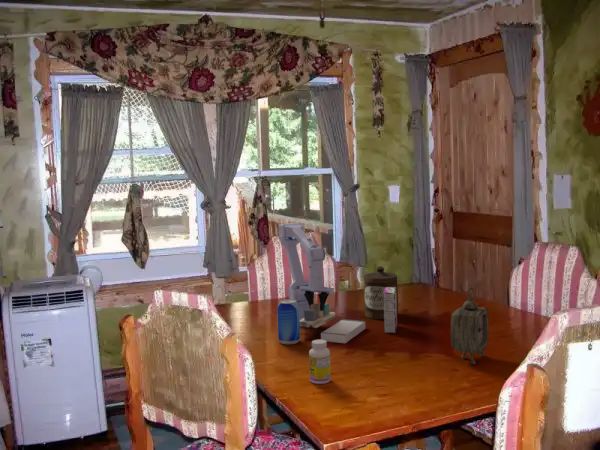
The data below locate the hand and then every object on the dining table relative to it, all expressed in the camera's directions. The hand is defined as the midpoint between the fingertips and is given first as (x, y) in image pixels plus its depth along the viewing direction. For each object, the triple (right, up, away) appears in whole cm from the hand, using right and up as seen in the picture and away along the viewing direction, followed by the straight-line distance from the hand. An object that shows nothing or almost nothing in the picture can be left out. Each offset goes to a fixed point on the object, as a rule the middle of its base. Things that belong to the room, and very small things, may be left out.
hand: (316, 309), depth 254 cm
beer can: (-11, -11, -12) cm, 19 cm away
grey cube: (-2, -3, -5) cm, 6 cm away
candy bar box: (+30, -8, +1) cm, 31 cm away
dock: (+11, -9, -4) cm, 15 cm away
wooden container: (+29, -6, +25) cm, 39 cm away
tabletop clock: (+51, -12, -39) cm, 66 cm away
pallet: (0, -5, 0) cm, 5 cm away
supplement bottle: (0, -15, -56) cm, 58 cm away
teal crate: (+3, -2, +5) cm, 6 cm away
